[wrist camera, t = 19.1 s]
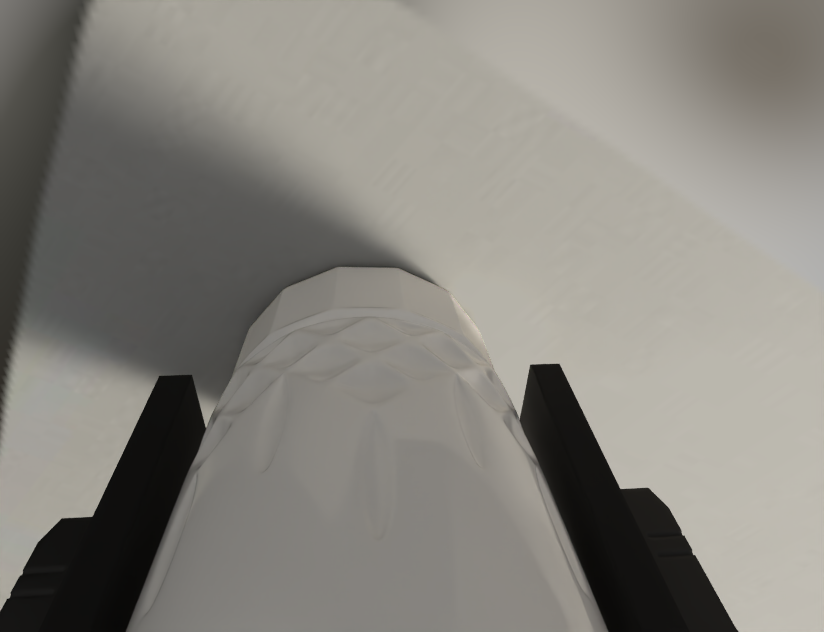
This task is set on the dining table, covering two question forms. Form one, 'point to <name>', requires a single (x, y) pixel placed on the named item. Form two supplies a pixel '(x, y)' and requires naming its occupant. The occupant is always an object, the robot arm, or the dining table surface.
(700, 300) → the dining table surface
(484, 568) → the white cup
